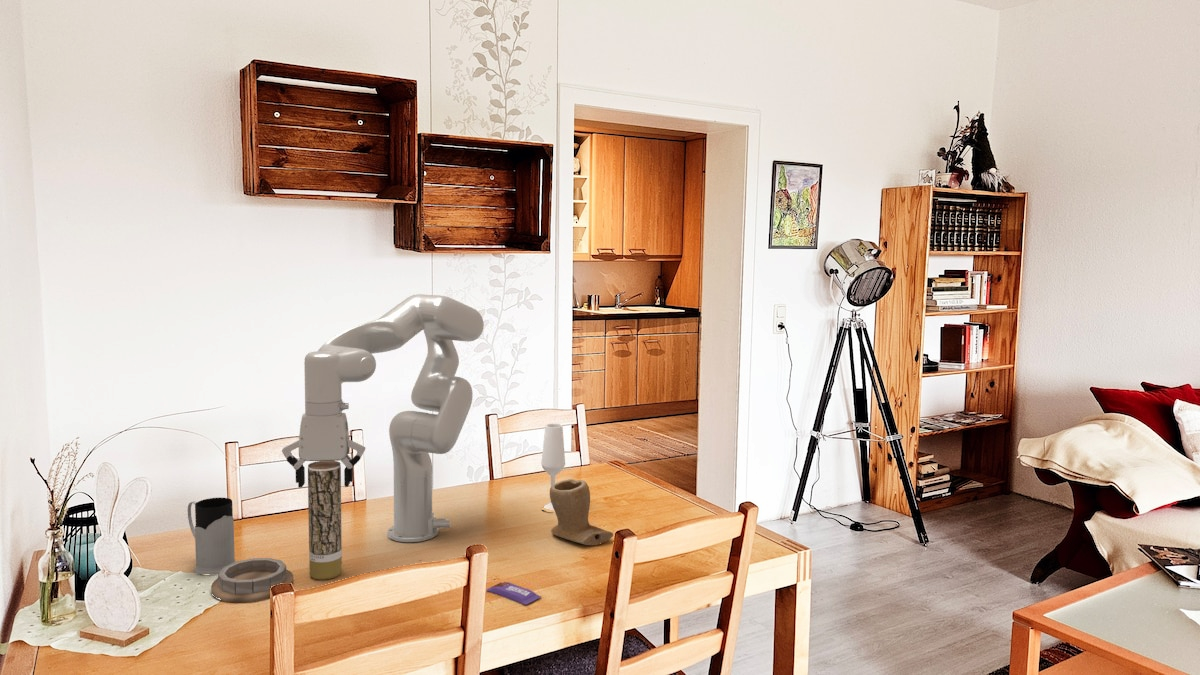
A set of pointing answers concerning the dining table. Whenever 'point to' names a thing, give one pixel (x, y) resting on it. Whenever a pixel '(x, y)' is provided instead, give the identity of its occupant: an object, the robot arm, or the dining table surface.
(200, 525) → the glass holder
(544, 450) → the champagne flute
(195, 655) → the dining table surface
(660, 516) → the dining table surface
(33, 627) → the dining table surface
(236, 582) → the roll stand
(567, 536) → the clay pipe bowl
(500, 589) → the snack package
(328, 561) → the paper tube
